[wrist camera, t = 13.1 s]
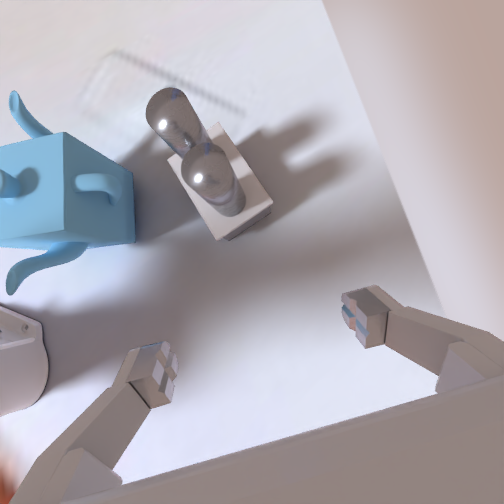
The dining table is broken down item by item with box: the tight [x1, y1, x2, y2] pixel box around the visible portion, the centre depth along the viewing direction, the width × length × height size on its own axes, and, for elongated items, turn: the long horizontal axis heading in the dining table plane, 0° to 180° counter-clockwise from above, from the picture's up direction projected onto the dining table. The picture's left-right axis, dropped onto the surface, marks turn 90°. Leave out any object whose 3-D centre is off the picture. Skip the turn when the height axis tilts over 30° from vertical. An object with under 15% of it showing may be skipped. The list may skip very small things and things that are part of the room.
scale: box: [167, 122, 273, 241], centre depth 30 cm, size 14×9×6 cm, turn 32°
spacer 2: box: [181, 143, 246, 217], centre depth 22 cm, size 4×4×9 cm
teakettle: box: [0, 91, 136, 295], centre depth 29 cm, size 19×19×15 cm
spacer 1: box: [146, 88, 214, 160], centre depth 23 cm, size 4×4×9 cm
